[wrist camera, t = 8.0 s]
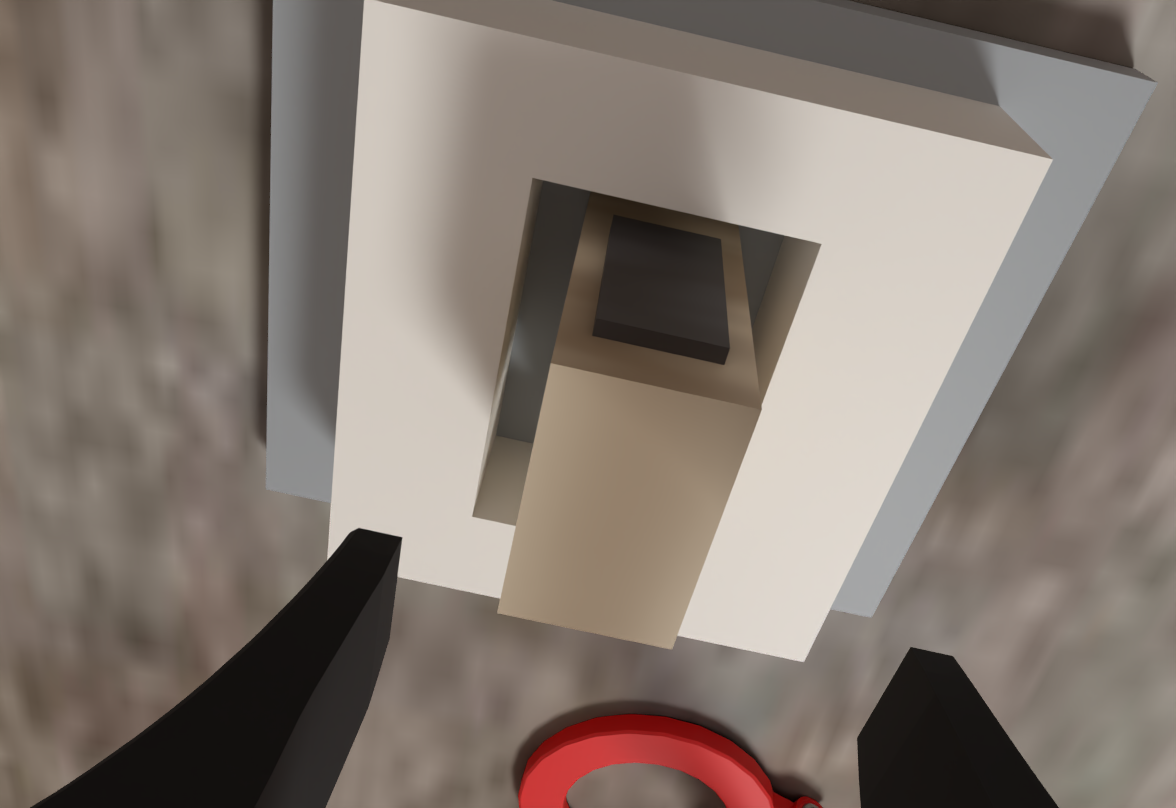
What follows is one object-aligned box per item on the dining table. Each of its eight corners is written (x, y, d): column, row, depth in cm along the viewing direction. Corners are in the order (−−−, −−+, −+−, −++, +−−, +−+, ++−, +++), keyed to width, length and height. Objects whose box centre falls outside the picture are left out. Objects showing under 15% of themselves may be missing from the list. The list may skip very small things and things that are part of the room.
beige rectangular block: (741, 204, 19) (768, 392, 13) (675, 417, 22) (671, 649, 16) (595, 170, 19) (554, 344, 13) (547, 390, 21) (496, 612, 16)
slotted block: (1135, 68, 18) (1240, 133, 14) (865, 590, 25) (892, 711, 22) (294, -133, 17) (199, -114, 14) (279, 465, 25) (216, 570, 21)
